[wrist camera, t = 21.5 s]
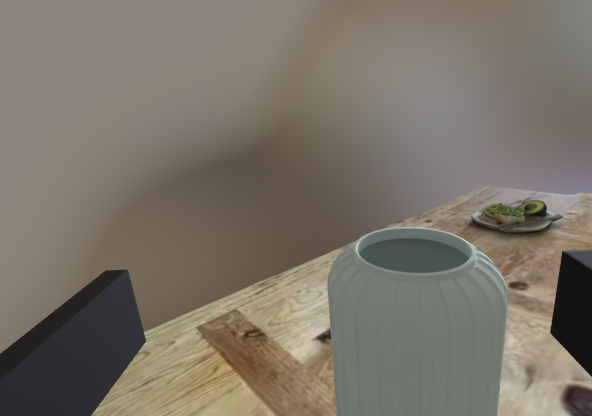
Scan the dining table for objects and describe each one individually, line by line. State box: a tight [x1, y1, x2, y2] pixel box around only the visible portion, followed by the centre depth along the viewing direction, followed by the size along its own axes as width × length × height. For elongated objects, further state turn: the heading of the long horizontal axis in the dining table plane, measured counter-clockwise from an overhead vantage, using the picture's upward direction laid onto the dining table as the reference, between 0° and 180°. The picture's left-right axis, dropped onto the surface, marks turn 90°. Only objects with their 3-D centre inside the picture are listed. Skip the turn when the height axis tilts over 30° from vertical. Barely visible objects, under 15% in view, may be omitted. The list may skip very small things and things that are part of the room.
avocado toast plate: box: [471, 200, 563, 233], centre depth 86 cm, size 19×18×5 cm
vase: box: [328, 227, 508, 416], centre depth 27 cm, size 12×12×22 cm
